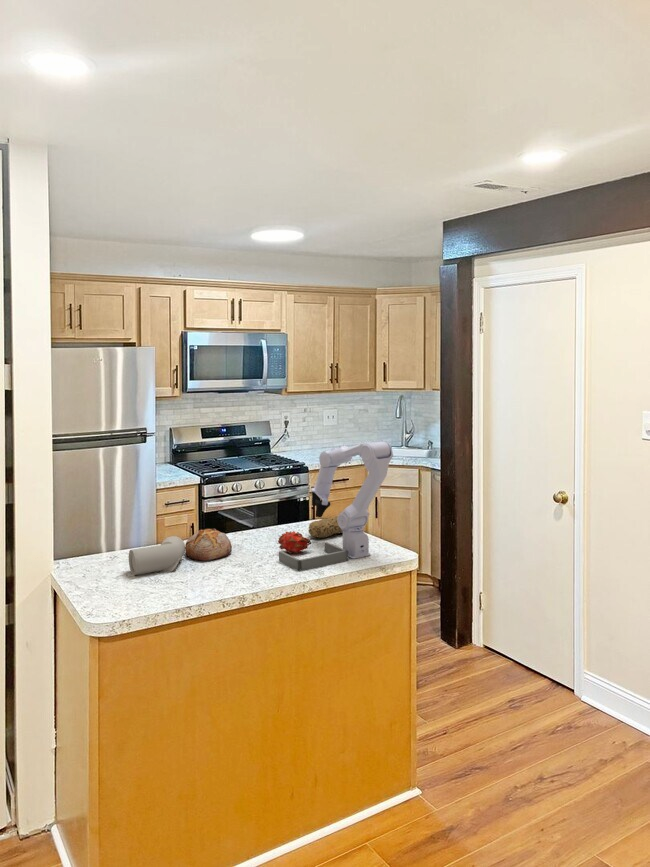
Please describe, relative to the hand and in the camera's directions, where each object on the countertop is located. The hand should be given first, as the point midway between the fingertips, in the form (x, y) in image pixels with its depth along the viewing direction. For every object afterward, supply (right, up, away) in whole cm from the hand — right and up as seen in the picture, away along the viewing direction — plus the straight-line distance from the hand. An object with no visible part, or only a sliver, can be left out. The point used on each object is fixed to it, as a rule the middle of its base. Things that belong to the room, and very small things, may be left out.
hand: (316, 510), depth 265 cm
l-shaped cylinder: (-53, -16, -29) cm, 63 cm away
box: (-1, -15, -23) cm, 27 cm away
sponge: (+5, -11, +11) cm, 16 cm away
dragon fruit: (-8, -14, -13) cm, 20 cm away
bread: (-38, -14, -13) cm, 43 cm away
